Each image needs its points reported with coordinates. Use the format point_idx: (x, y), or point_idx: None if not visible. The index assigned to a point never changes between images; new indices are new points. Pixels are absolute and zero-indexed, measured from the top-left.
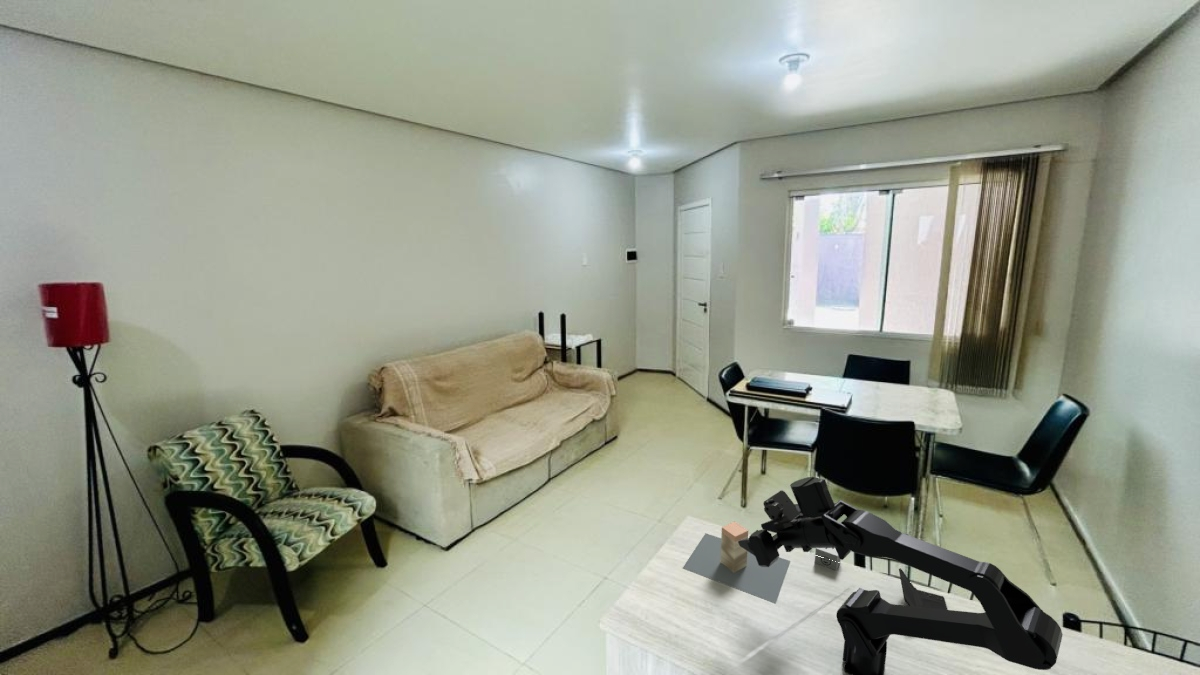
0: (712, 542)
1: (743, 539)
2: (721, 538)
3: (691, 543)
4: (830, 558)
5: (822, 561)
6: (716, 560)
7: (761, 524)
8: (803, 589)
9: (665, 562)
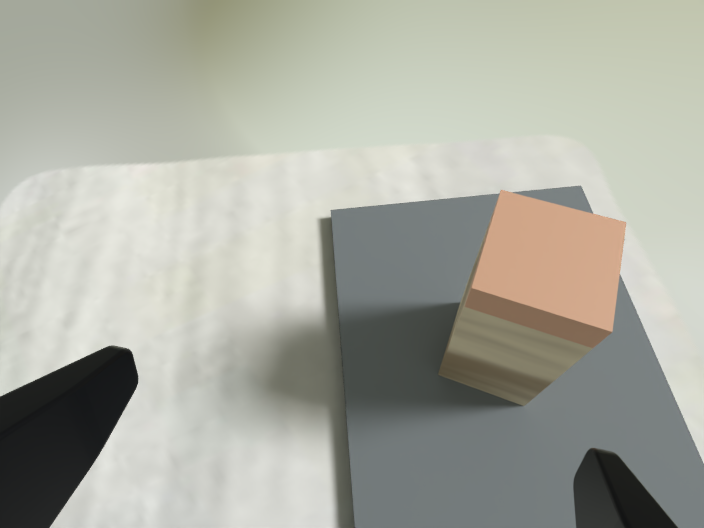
0: None
1: (43, 394)
2: (484, 236)
3: (492, 177)
4: None
5: None
6: (458, 285)
7: (594, 455)
8: None
9: (337, 161)
